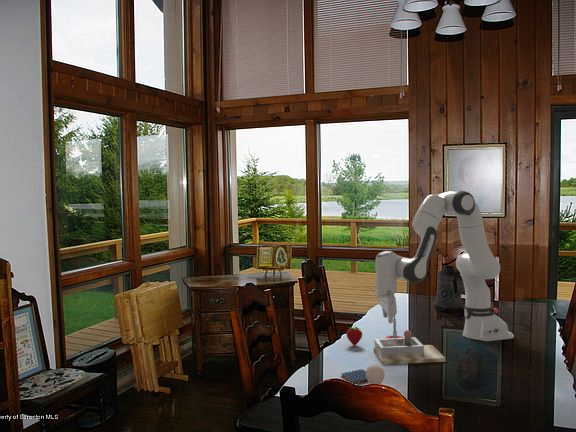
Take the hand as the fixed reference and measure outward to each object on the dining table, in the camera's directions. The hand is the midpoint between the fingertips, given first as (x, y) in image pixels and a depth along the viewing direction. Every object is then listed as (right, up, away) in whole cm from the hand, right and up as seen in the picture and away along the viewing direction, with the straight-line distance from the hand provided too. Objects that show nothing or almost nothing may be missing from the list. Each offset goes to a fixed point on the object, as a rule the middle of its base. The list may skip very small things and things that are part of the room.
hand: (388, 320), depth 224 cm
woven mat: (-17, -17, -30) cm, 38 cm away
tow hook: (+7, -13, +18) cm, 23 cm away
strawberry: (-13, -14, +11) cm, 22 cm away
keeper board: (+7, -14, -6) cm, 17 cm away
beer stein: (+51, -9, +73) cm, 89 cm away
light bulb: (-13, -17, -47) cm, 52 cm away
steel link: (+4, -13, -5) cm, 14 cm away
